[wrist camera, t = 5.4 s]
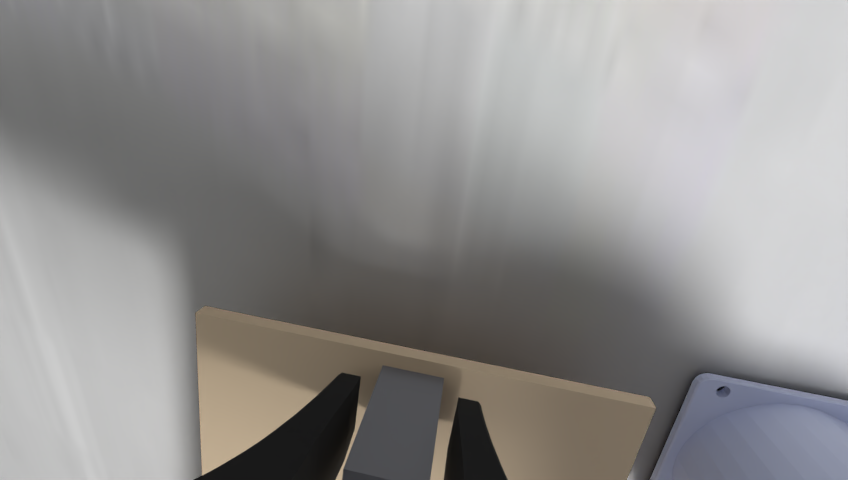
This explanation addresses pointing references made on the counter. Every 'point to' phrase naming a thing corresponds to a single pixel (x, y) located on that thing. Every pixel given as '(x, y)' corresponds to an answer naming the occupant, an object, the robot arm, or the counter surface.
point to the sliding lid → (405, 404)
